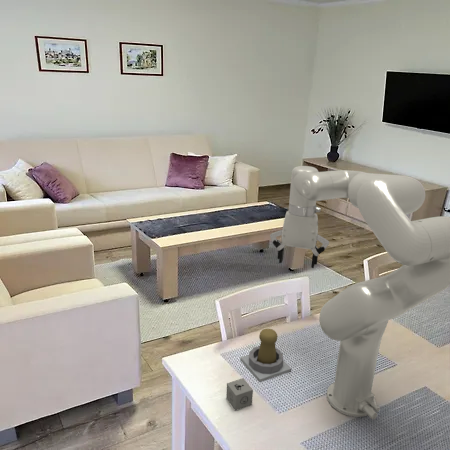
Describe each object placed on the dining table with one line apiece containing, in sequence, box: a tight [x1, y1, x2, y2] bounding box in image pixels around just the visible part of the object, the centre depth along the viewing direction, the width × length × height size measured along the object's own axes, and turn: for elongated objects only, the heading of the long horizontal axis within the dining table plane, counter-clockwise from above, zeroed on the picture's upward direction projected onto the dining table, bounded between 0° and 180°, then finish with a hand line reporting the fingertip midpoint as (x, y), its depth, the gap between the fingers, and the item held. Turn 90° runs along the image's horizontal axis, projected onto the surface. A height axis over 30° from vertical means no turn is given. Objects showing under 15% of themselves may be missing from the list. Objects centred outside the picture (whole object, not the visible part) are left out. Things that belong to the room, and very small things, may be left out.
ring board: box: [239, 345, 293, 383], centre depth 126 cm, size 11×11×4 cm
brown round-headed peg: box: [257, 328, 278, 364], centre depth 125 cm, size 6×6×11 cm
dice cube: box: [225, 377, 254, 412], centre depth 112 cm, size 5×5×5 cm
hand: (296, 263), depth 128 cm, fingers open, 9 cm apart
